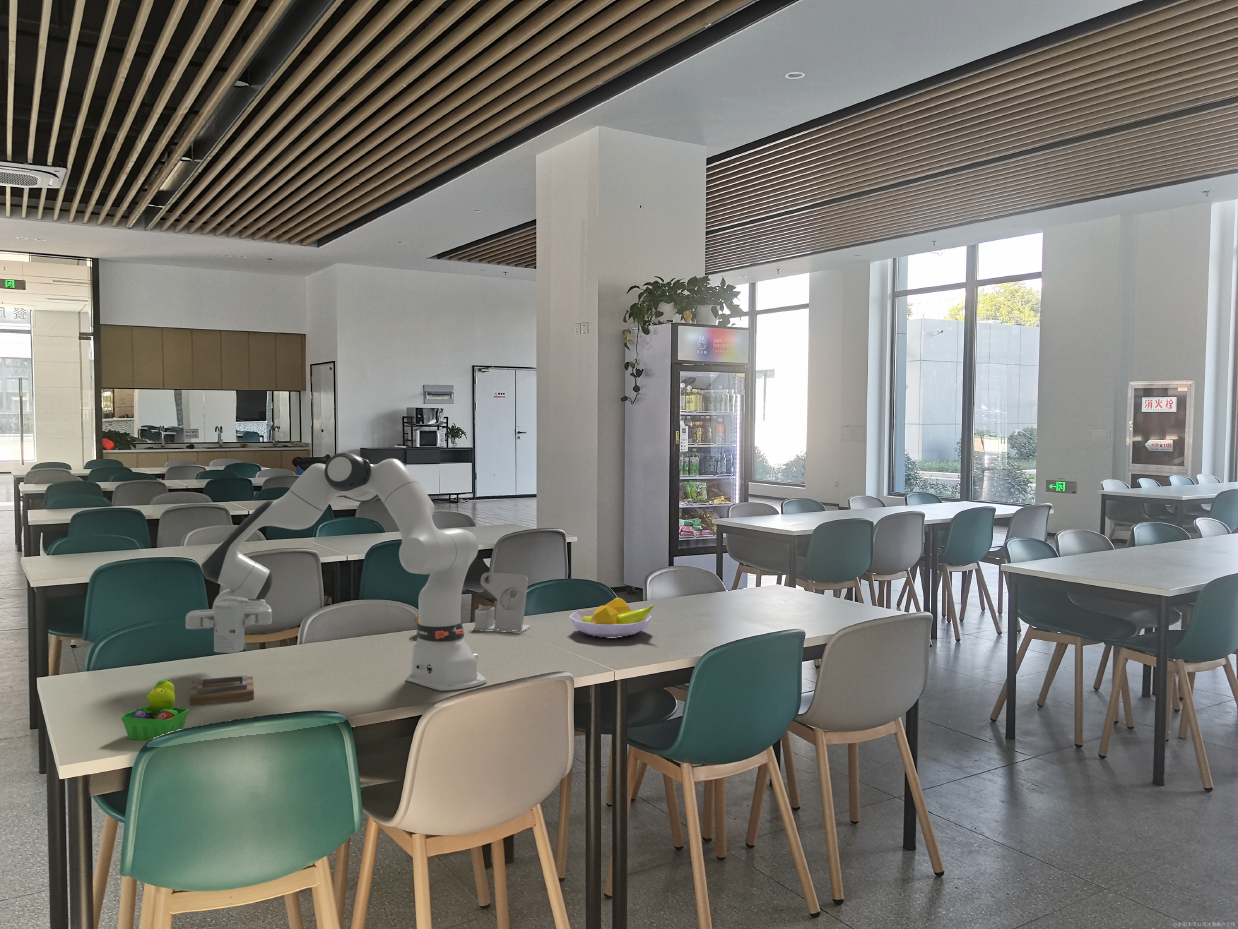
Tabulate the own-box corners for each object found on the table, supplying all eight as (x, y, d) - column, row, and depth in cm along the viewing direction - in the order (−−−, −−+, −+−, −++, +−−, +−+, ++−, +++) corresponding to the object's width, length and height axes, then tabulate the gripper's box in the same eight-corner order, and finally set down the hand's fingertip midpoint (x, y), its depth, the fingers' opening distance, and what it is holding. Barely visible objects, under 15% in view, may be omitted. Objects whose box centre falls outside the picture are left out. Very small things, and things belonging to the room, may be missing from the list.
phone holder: (471, 630, 295) (471, 576, 294) (482, 624, 305) (483, 571, 304) (521, 633, 291) (522, 578, 290) (531, 627, 301) (532, 574, 300)
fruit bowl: (553, 632, 293) (553, 598, 293) (615, 622, 311) (615, 589, 311) (609, 649, 272) (609, 612, 272) (672, 636, 290) (672, 601, 290)
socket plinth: (253, 699, 217) (253, 687, 217) (189, 705, 211) (189, 692, 211) (252, 684, 230) (252, 672, 230) (192, 689, 224) (192, 677, 224)
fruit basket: (118, 740, 187) (117, 687, 187) (146, 727, 196) (146, 676, 196) (167, 744, 185) (167, 690, 185) (194, 730, 194) (194, 678, 194)
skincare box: (213, 652, 222) (211, 604, 221) (223, 648, 226) (222, 600, 226) (236, 653, 221) (234, 605, 220) (246, 649, 225) (245, 601, 225)
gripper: (186, 603, 231) (182, 614, 218) (271, 598, 239) (272, 608, 226) (186, 627, 231) (182, 639, 219) (271, 622, 239) (272, 633, 226)
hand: (229, 624), depth 222 cm, fingers closed on skincare box, 7 cm apart
